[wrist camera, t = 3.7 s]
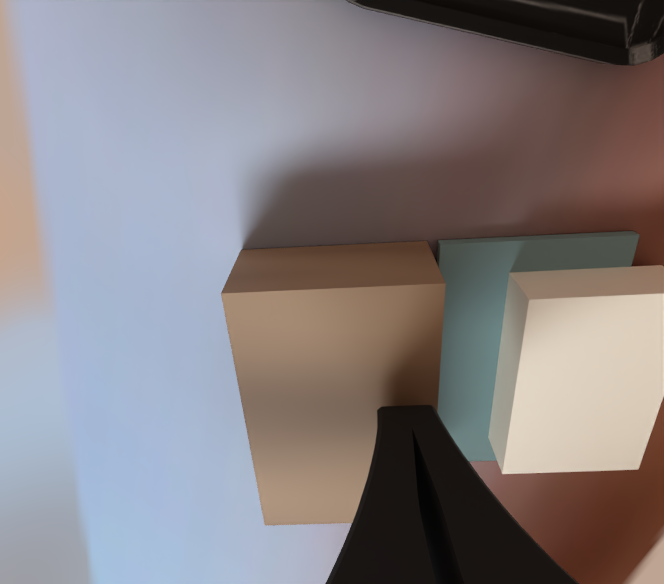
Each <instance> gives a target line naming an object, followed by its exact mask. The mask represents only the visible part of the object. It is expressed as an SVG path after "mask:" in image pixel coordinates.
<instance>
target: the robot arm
mask: <svg viewBox="0 0 664 584" xmlns="http://www.w3.org/2000/svg"><path fill="white" fill-rule="evenodd" d="M326 584H579V583H578V582H577V581H576V580H575V579H573V578H572V577H571V576H570V575H569V574H568V573H567V572H566V571H565V570H564V569H562V568H561V567H560V566H559V565H558V564H557V563H556V562H555V561H554V560H553V559H552V558H551V557H550V556H549V555H548V554H547V553H546V552H545V551H544V550H543V549H542V548H541V547H540V546H539V545H538V544H537V543H536V542H535V541H534V540H533V539H532V538H531V536H530V535H529V534H528V533H527V532H526V531H525V530H524V529H523V528H522V527H521V526H520V525H519V524H518V522H517V521H516V520H515V519H514V518H513V517H512V516H511V515H510V513H509V512H508V511H507V510H506V509H505V508H504V506H503V505H502V504H501V503H500V502H499V500H498V499H497V498H496V497H495V495H494V494H493V493H492V492H491V491H490V489H489V488H488V487H487V486H486V484H485V483H484V482H483V480H482V479H481V478H480V477H479V475H478V474H477V472H476V471H475V470H474V468H473V467H472V466H471V464H470V463H469V461H468V460H467V459H466V457H465V456H464V455H463V453H462V452H461V450H460V449H459V447H458V446H457V444H456V443H455V441H454V440H453V438H452V437H451V435H450V433H449V432H448V430H447V429H446V427H445V425H444V424H443V422H442V420H441V418H440V417H439V415H438V413H437V411H436V409H435V408H434V407H433V406H432V405H409V406H382V407H380V408H379V409H378V410H377V435H376V441H375V447H374V452H373V456H372V461H371V465H370V469H369V473H368V477H367V481H366V484H365V487H364V490H363V493H362V496H361V500H360V503H359V506H358V509H357V512H356V514H355V517H354V520H353V523H352V525H351V528H350V530H349V533H348V535H347V538H346V540H345V543H344V545H343V547H342V549H341V552H340V554H339V556H338V558H337V561H336V563H335V565H334V567H333V569H332V572H331V574H330V576H329V578H328V580H327V582H326Z"/></svg>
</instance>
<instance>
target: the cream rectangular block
mask: <svg viewBox="0 0 664 584" xmlns="http://www.w3.org/2000/svg"><path fill="white" fill-rule="evenodd" d="M663 397H664V266H662V265H653V266H633V267H613V268H593V269H573V270H552V271H532V272H512V273H509V279H508V286H507V294H506V302H505V310H504V318H503V326H502V333H501V341H500V349H499V357H498V365H497V373H496V380H495V388H494V396H493V404H492V412H491V420H490V427H489V435H488V438H489V440H490V443H491V446H492V448H493V451H494V454H495V456H496V459H497V462H498V464H499V467H500V470H501V472H502V474H521V473H551V472H580V471H610V470H638V469H639V466H640V463H641V461H642V458H643V455H644V452H645V449H646V446H647V443H648V440H649V437H650V434H651V432H652V429H653V426H654V423H655V420H656V417H657V414H658V411H659V408H660V405H661V402H662V400H663Z"/></svg>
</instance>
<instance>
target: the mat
mask: <svg viewBox="0 0 664 584" xmlns="http://www.w3.org/2000/svg"><path fill="white" fill-rule="evenodd" d="M639 236H640V235H639V234H637V233H636V232H634V231H620V232H599V233H579V234H558V235H537V236H516V237H496V238H475V239H454V240H438V252H437V265H438V267H439V270H440V272H441V274H442V276H443V279H444V281H445V283H446V285H445V301H444V317H443V333H442V348H441V364H440V380H439V395H438V411H437V413H438V415H439V417H440V418H441V420H442V422H443V424H444V425H445V427H446V429H447V430H448V432H449V433H450V435H451V437H452V438H453V440H454V441H455V443H456V444H457V446H458V447H459V449H460V450H461V452H462V453H463V455H464V456H465V457H466V459H467V460H468V461H495V460H497V459H496V456H495V454H494V451H493V448H492V446H491V443H490V440H489V438H488V435H489V427H490V420H491V412H492V404H493V396H494V388H495V380H496V373H497V365H498V357H499V349H500V341H501V333H502V326H503V318H504V310H505V302H506V294H507V286H508V279H509V273H512V272H532V271H552V270H573V269H593V268H613V267H631V266H632V262H633V258H634V255H635V251H636V247H637V243H638V240H639Z"/></svg>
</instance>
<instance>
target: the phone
mask: <svg viewBox="0 0 664 584" xmlns="http://www.w3.org/2000/svg"><path fill="white" fill-rule="evenodd" d="M346 1H347V2H350V3H352V4H354V5H356V6H359V7H361V8H364V9H368V10H372V11H376V12H381V13H385V14H389V15H394V16H398V17H402V18H407V19H411V20H415V21H420V22H424V23H428V24H433V25H437V26H441V27H446V28H450V29H454V30H459V31H463V32H467V33H472V34H476V35H480V36H484V37H489V38H493V39H497V40H502V41H506V42H510V43H515V44H519V45H523V46H528V47H532V48H536V49H541V50H545V51H549V52H554V53H558V54H562V55H567V56H571V57H575V58H580V59H584V60H588V61H592V62H597V63H604V64H613V65H632V66H634V65H637V64H641V63H644V62H648V61H651V60H653V59H655V58H657V57H658V56H660V55H662V54H663V53H664V0H346Z"/></svg>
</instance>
